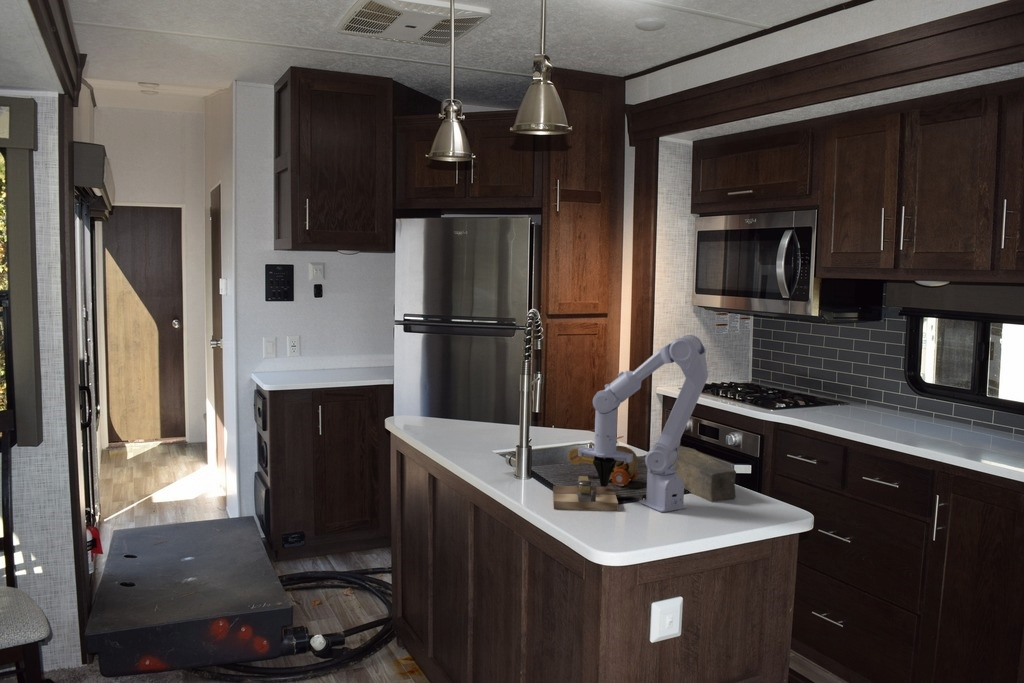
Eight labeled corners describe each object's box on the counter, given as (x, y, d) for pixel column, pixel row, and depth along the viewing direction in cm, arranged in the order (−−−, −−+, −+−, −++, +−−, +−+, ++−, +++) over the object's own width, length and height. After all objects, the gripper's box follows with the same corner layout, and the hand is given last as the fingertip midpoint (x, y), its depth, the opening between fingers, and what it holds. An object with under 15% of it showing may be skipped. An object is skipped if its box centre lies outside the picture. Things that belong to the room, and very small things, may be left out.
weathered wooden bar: (679, 476, 242) (684, 442, 241) (738, 505, 218) (744, 468, 217) (650, 476, 238) (655, 442, 237) (707, 506, 214) (713, 468, 213)
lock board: (613, 494, 220) (613, 477, 220) (617, 510, 207) (618, 492, 206) (553, 492, 221) (553, 476, 221) (553, 509, 207) (554, 491, 207)
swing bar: (591, 493, 212) (591, 484, 212) (578, 493, 212) (578, 483, 212) (589, 483, 221) (589, 474, 221) (577, 483, 222) (577, 473, 221)
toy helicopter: (630, 489, 225) (632, 440, 224) (562, 478, 236) (563, 431, 234) (641, 482, 232) (642, 434, 231) (574, 472, 243) (575, 426, 241)
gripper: (574, 434, 216) (573, 485, 217) (627, 441, 210) (625, 493, 211) (584, 429, 222) (582, 479, 224) (635, 435, 216) (634, 486, 217)
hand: (604, 485), depth 218 cm, fingers closed
